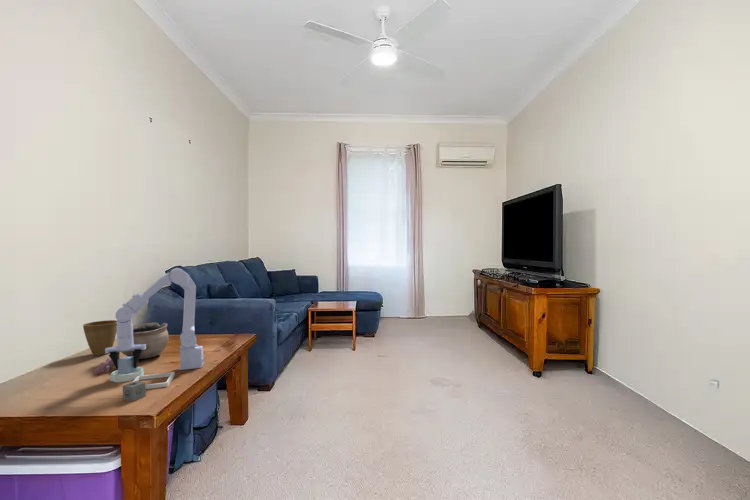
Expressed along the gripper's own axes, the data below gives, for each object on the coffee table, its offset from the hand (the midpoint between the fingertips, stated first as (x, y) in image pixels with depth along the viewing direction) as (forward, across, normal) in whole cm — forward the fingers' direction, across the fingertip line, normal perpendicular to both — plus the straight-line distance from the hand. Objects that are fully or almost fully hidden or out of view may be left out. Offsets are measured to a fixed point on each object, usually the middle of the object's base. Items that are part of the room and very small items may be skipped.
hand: (127, 368), depth 168 cm
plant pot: (+4, +24, -48) cm, 54 cm away
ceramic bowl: (+4, +1, -31) cm, 31 cm away
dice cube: (+4, -10, +27) cm, 29 cm away
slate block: (+2, 0, 0) cm, 2 cm away
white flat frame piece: (+4, -12, +12) cm, 17 cm away
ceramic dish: (+4, 0, 0) cm, 4 cm away
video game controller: (+4, +11, -14) cm, 18 cm away
